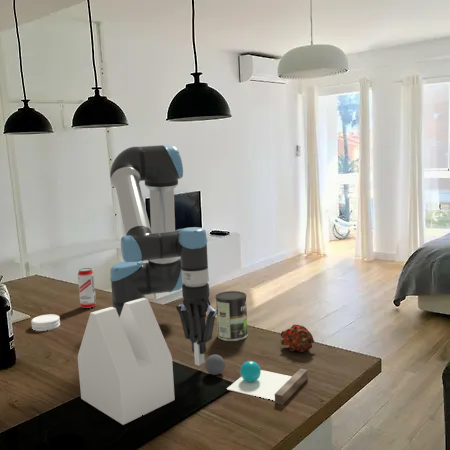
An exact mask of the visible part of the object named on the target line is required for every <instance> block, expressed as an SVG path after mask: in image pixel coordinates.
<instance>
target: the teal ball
mask: <svg viewBox="0 0 450 450" xmlns="http://www.w3.org/2000/svg"><path fill="white" fill-rule="evenodd" d="M261 370H262V369H261V367H260V365H259V364H258V363H257V362H256V361H254V360H247V361H245V362H243V364H242V365H241V366H240V371H239V372H240V377H241V376H242V378H243V379H244V380H245V381H247V382H254V381H256V380H257V379H258V378H259V377H260V374H261Z"/></svg>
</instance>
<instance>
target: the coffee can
mask: <svg viewBox="0 0 450 450" xmlns="http://www.w3.org/2000/svg"><path fill="white" fill-rule="evenodd" d="M214 299H215V301H216V303H215V307H216V308H215V309H218V313H217V314H216V324H217V325H216V326H217V338H218V339H219V340H222V341H225V342H236V341H237V342H238V341H242V340H244V339H246V338H247V337H248V336H249V334H248V317H247V316H248V313H247V312H248V311H247V294H246V293H245V292H243V291H237V290H229V291H222V292H220V293H219V292H218V293H217V294H216V295H215V297H214Z"/></svg>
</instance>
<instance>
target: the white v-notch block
mask: <svg viewBox="0 0 450 450" xmlns="http://www.w3.org/2000/svg"><path fill="white" fill-rule="evenodd" d="M82 337H83V338H82V340H81V343H80V346H79V350H78V354H77V366H78V367H77V368H78V378H79V379H78V380H79V386H80V398H81V400H83V401H84V402H86V403H88V404H89V405H91V406H92V407H94V408H95V409H97V410H98V411H100V412H102V413H104V414H105V415H107V416H108V417H110V418H111V419H113V420H115V421H116V422H118V423H119V424H121V425H122V426H124V425H126V424H128V423H130V422H132V421H134V420H136V419H138V418H140V417H142V415H143V416H145V415H147V414H149V413H151V412H153V411H155V410H156V409H159V408H161V407H162V406H165V405H167V404H169V403H171V402H173V401H175V385H174V383H175V381H174V370H173V369H174V368H173V367H174V365H173V356H172V353H171V352H170V349H169V347H168V346H169V345H168V344H167V342H166V340H165V337H164V335H163V332H162V330H161V327H160V325H159V323H158V321H157V318H156V315H155V312H154V310H153V309H152V306H151V304H150V301H149V299H148V298H146V297H145V298H140V299H137V300H133V301H130V302H126V303H124V306H123V309H122V312H121V315H120V318H119V315H118V313H117V310H116V308H114V307H113V306H109V307H106V308H101V309H98V310H95V311H92V312H90V314H89V316H88V320H87V322H86V327H85V331H84V333H83V336H82Z"/></svg>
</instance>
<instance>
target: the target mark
mask: <svg viewBox="0 0 450 450" xmlns="http://www.w3.org/2000/svg"><path fill="white" fill-rule="evenodd" d="M292 376H293V375H292ZM292 376H291V375H286V374H281V373H278V372H273V371H268V370H263V369H261V374H260V377H259V378H258V379H257V380H256V381H254V382H247V381H245V380H244V379H243V378H242V376H241V375H240V377H239V378H238V379H237V380H235V381H234V382H233V383H231V385H229V386H228V387H227V388H226V389H227V391H230V392H231V391H232V392H235V393H238V394H239V393H240V394H243V395H249V396H251V397H255V396H256V397H257V398H259V397H261V398H260V399H263V398H264V400H268V399H270V400H269V401H272V400H273V401H272V402H275V393H276V392H277V391H278V390H279V389H280V388H281V387H282V386H283V385H284V384H285V383H286V382H287V381H288V380H289V379H290V378H291V377H292Z"/></svg>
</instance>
